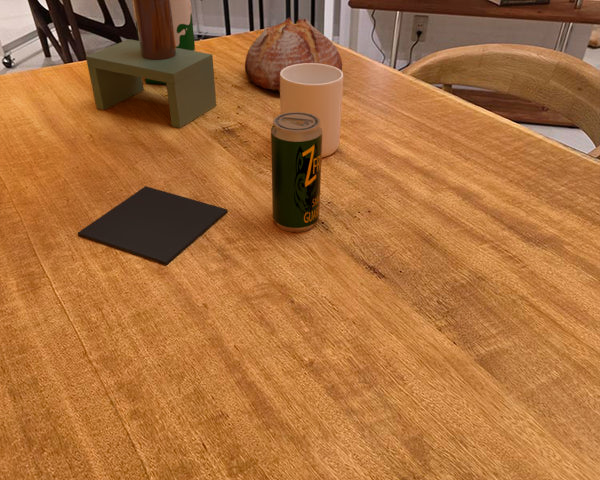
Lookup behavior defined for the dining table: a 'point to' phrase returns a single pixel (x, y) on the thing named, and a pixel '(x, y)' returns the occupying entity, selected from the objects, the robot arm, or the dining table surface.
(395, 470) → the dining table surface
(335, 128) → the mug
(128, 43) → the shelf
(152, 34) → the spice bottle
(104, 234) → the mat
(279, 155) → the beer can
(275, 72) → the bread
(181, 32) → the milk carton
